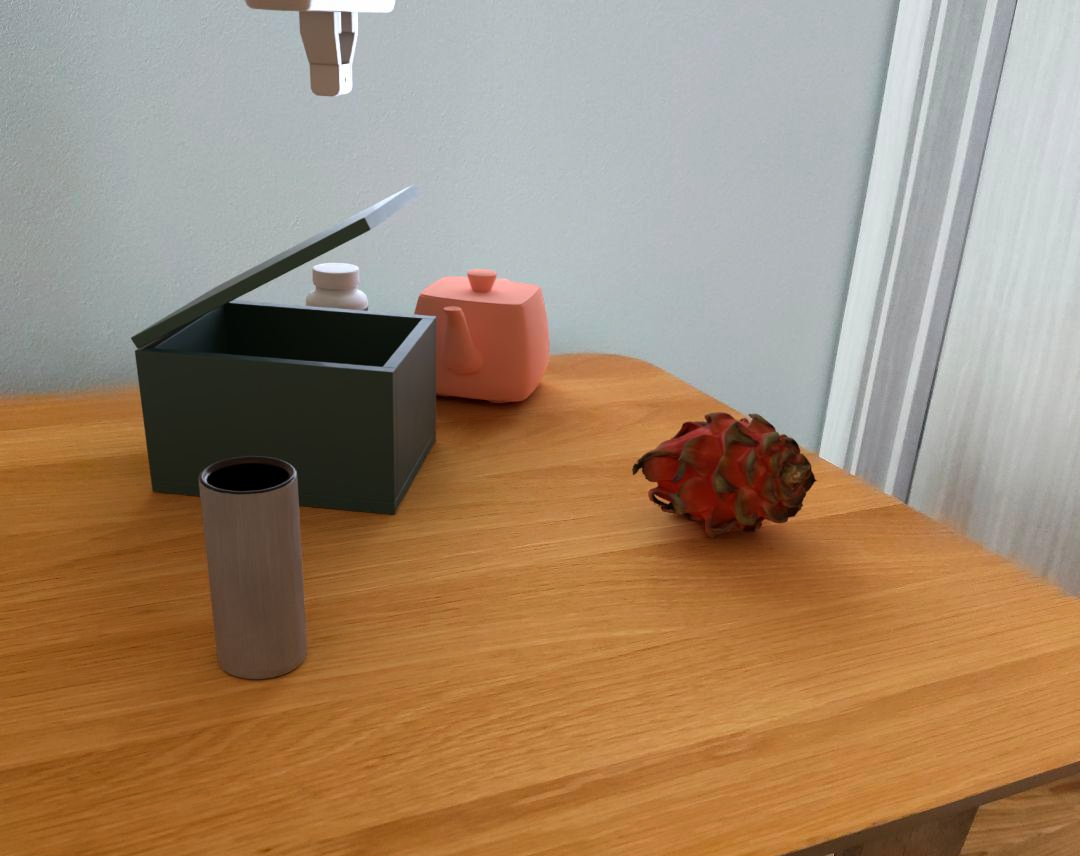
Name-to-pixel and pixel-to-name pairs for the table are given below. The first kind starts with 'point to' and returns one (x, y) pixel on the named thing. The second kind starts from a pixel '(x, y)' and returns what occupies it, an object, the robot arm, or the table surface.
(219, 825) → the table surface
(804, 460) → the dragon fruit
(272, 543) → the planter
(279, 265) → the lid
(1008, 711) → the table surface
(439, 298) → the teapot
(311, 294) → the pill bottle
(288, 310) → the box
